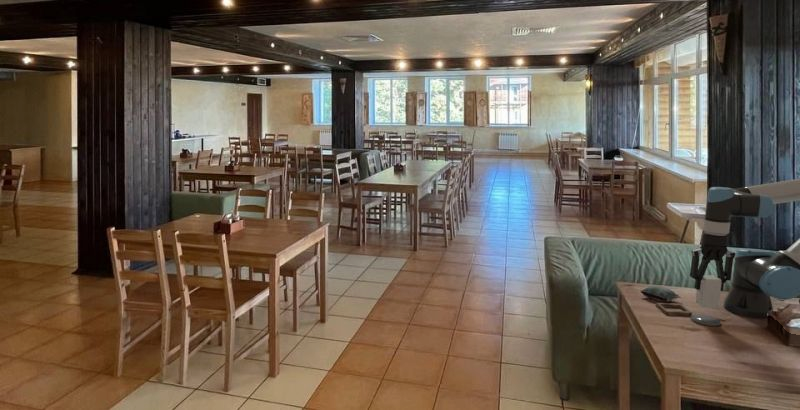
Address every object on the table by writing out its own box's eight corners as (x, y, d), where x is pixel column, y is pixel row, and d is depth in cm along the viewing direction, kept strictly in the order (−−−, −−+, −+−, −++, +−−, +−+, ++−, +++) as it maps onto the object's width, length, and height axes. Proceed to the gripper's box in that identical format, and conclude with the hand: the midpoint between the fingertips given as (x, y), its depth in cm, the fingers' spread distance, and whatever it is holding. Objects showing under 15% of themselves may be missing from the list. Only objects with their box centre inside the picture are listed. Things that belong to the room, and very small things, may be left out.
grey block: (710, 302, 186) (714, 275, 184) (717, 308, 181) (721, 279, 180) (695, 302, 187) (699, 274, 185) (702, 307, 182) (706, 279, 180)
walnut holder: (680, 307, 198) (681, 303, 198) (691, 315, 190) (692, 312, 189) (655, 305, 199) (656, 302, 199) (665, 314, 190) (665, 311, 190)
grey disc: (712, 316, 189) (712, 314, 189) (725, 326, 180) (725, 324, 180) (685, 315, 190) (686, 313, 190) (697, 325, 181) (698, 323, 181)
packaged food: (652, 293, 214) (653, 281, 213) (680, 302, 204) (682, 290, 203) (639, 297, 209) (640, 285, 208) (667, 306, 199) (668, 293, 199)
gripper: (737, 231, 183) (728, 296, 187) (683, 229, 184) (675, 294, 188) (750, 236, 175) (740, 304, 179) (693, 234, 177) (685, 301, 181)
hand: (707, 298), depth 184 cm, fingers closed on grey block, 5 cm apart
